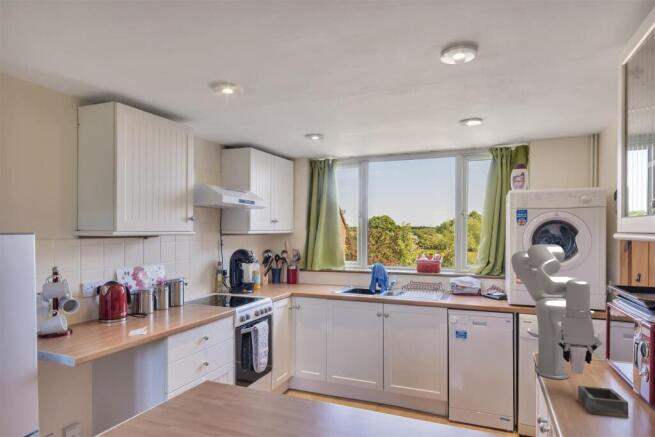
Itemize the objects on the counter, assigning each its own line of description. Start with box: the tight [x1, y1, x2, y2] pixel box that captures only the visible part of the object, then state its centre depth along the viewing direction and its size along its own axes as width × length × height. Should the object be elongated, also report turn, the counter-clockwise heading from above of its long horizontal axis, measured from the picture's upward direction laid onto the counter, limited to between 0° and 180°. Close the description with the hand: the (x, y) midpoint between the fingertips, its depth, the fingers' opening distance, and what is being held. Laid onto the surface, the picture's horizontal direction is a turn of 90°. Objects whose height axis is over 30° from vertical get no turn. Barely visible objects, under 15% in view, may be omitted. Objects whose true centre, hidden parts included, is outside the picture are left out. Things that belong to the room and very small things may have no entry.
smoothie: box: [568, 344, 588, 375], centre depth 140 cm, size 6×6×14 cm
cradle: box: [577, 385, 629, 419], centre depth 129 cm, size 11×11×5 cm
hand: (577, 361), depth 140 cm, fingers closed on smoothie, 6 cm apart
